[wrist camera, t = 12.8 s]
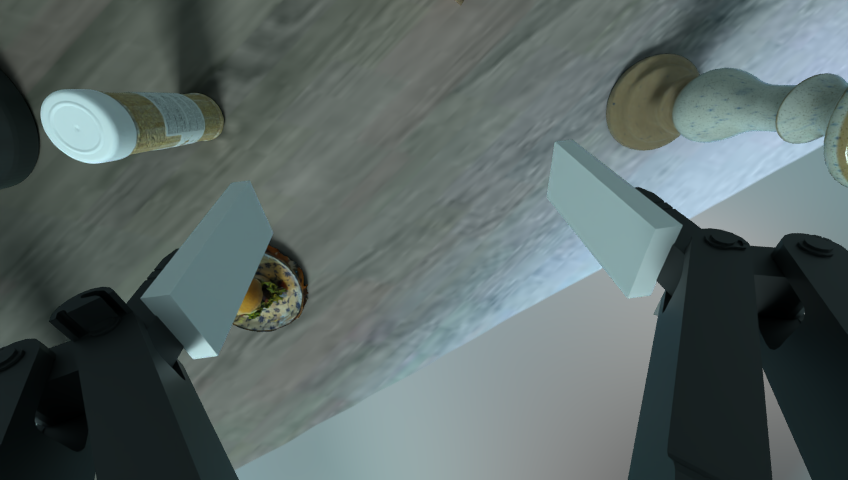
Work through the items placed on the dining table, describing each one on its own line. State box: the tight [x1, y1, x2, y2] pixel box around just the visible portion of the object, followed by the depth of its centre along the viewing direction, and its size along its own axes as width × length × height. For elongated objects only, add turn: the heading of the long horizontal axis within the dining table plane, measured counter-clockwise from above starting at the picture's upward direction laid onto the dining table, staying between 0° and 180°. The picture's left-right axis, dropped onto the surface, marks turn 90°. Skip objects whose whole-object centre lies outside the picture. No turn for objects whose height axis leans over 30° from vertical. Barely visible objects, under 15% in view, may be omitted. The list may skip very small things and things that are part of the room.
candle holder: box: [606, 54, 848, 188], centre depth 24 cm, size 9×9×20 cm
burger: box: [233, 245, 308, 332], centre depth 38 cm, size 12×12×8 cm
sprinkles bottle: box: [41, 89, 224, 163], centre depth 27 cm, size 5×5×13 cm
